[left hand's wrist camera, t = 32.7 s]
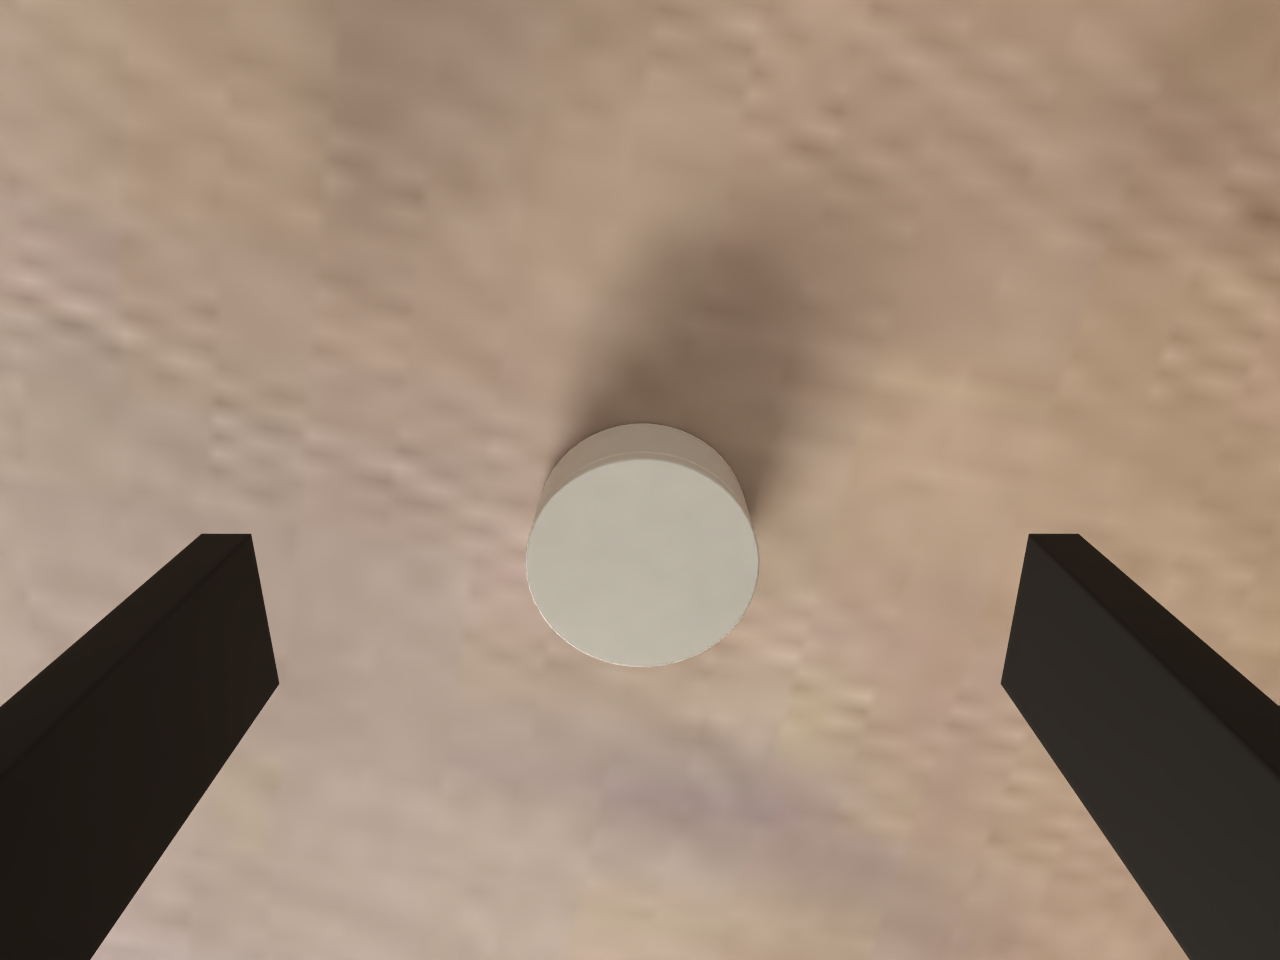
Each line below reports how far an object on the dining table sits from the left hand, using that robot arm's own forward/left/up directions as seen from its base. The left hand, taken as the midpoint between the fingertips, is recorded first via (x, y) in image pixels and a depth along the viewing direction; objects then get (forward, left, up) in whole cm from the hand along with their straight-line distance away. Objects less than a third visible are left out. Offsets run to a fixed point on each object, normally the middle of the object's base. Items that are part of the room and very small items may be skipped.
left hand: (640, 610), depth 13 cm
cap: (0, 0, -2) cm, 2 cm away
